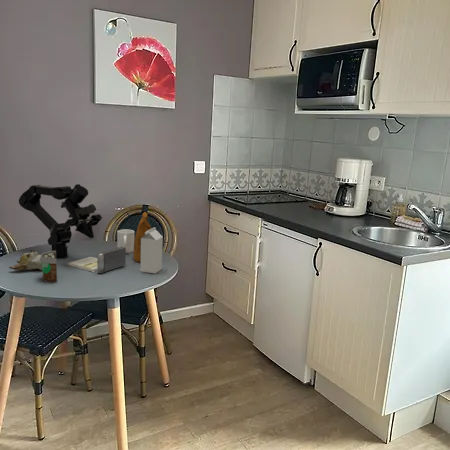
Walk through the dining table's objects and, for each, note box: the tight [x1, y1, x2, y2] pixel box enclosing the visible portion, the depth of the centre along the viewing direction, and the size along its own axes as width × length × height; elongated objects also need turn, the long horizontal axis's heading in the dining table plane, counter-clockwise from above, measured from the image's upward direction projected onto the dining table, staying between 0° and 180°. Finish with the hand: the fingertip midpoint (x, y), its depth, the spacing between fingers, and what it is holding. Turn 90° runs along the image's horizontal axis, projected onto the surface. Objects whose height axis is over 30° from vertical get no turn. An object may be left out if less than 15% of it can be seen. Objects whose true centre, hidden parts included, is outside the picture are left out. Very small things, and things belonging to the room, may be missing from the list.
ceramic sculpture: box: [8, 249, 43, 271], centre depth 193 cm, size 11×9×15 cm
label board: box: [68, 256, 97, 273], centre depth 203 cm, size 15×13×2 cm
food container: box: [40, 250, 58, 283], centre depth 182 cm, size 12×6×10 cm, turn 21°
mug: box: [116, 228, 135, 254], centre depth 226 cm, size 12×8×10 cm
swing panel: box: [96, 247, 127, 274], centre depth 198 cm, size 15×3×8 cm, turn 150°
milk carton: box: [139, 226, 164, 274], centre depth 199 cm, size 7×7×19 cm
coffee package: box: [132, 211, 153, 263], centre depth 215 cm, size 10×12×22 cm
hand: (92, 237), depth 201 cm, fingers closed
